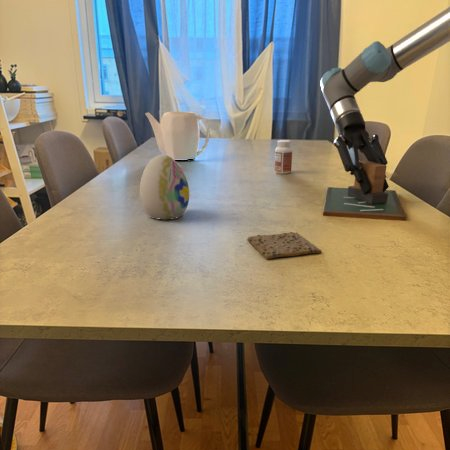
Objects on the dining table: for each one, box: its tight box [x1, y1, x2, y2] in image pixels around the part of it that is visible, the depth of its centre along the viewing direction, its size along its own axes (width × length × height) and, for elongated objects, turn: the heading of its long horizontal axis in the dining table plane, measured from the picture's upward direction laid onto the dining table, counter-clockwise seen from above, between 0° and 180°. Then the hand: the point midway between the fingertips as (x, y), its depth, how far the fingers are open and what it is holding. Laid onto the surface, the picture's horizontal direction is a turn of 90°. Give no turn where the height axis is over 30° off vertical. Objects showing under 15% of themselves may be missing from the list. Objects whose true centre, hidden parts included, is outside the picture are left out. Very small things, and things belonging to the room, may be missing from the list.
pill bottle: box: [273, 139, 293, 175], centre depth 157 cm, size 6×6×11 cm
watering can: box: [144, 110, 211, 160], centre depth 181 cm, size 16×27×19 cm, turn 88°
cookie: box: [246, 231, 323, 260], centre depth 90 cm, size 12×12×1 cm
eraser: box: [347, 160, 388, 204], centre depth 118 cm, size 11×5×10 cm, turn 20°
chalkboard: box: [322, 186, 407, 221], centre depth 120 cm, size 20×28×1 cm
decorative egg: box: [139, 154, 190, 220], centre depth 107 cm, size 12×12×15 cm
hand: (376, 190), depth 116 cm, fingers closed on eraser, 5 cm apart
